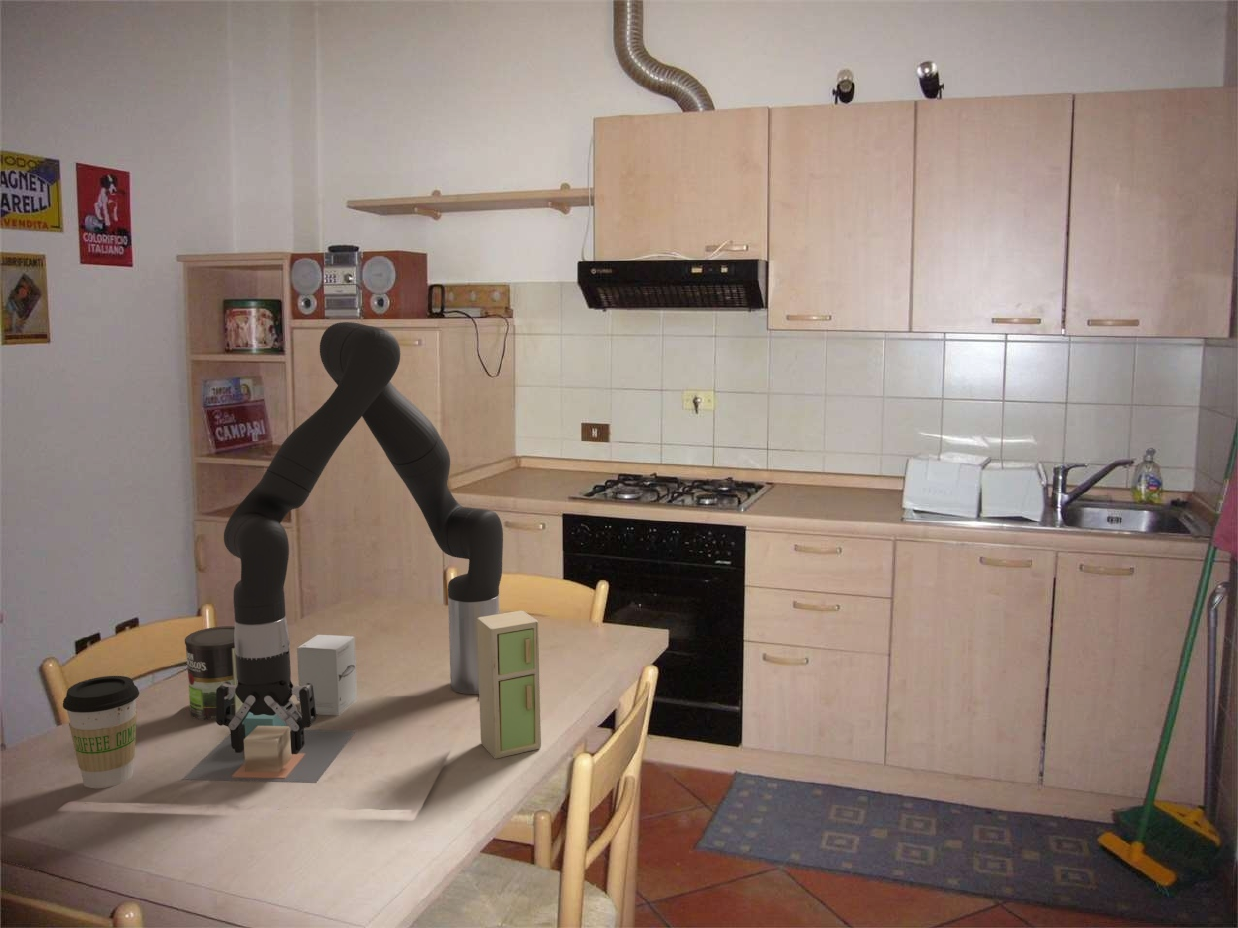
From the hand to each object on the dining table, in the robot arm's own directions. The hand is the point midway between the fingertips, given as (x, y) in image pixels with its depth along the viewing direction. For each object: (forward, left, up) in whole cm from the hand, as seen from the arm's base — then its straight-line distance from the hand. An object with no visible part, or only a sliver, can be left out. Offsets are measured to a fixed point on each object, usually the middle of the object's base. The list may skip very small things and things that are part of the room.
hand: (268, 751), depth 148 cm
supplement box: (-1, -23, -4) cm, 23 cm away
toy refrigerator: (-35, -10, -3) cm, 36 cm away
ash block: (0, 0, -2) cm, 2 cm away
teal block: (+4, -8, -2) cm, 9 cm away
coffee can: (+17, -21, -4) cm, 27 cm away
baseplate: (+1, -4, -3) cm, 5 cm away
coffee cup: (+22, +5, -3) cm, 23 cm away
